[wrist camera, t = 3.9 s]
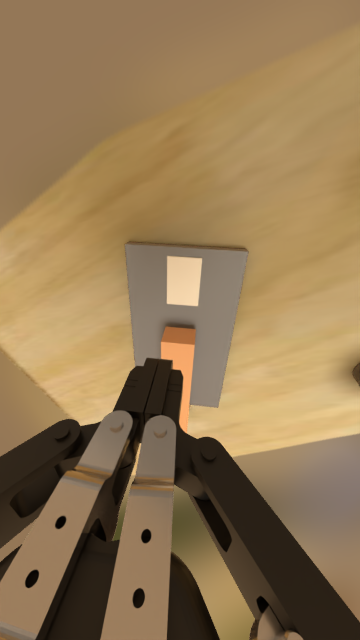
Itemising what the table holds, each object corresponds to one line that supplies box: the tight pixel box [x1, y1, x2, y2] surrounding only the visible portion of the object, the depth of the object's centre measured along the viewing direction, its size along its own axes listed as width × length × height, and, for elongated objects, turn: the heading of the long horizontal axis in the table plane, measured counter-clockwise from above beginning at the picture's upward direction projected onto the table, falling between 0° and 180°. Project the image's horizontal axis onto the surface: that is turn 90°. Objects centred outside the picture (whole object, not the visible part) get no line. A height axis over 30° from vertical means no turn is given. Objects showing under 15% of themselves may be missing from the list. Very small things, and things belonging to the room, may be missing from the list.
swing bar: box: [161, 327, 196, 433], centre depth 31 cm, size 20×4×4 cm, turn 178°
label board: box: [125, 242, 248, 408], centre depth 32 cm, size 30×14×2 cm, turn 178°
